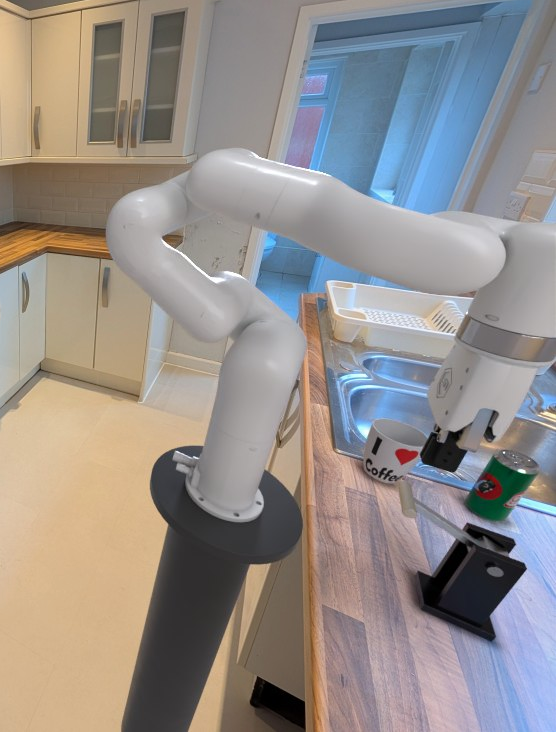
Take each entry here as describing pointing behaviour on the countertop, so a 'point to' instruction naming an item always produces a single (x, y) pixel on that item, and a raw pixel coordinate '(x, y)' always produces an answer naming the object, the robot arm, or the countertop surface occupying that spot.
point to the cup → (392, 449)
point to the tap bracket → (470, 583)
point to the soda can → (501, 485)
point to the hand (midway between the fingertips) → (436, 464)
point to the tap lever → (441, 520)
